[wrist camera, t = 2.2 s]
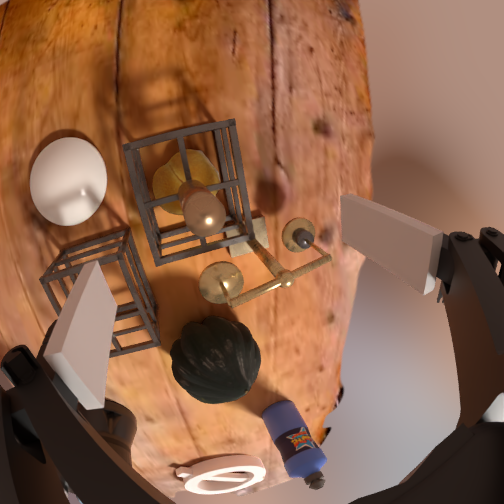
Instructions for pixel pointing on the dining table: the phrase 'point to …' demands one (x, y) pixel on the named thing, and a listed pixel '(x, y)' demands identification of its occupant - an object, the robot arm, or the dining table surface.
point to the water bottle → (295, 443)
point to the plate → (68, 181)
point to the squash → (215, 360)
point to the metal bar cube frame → (119, 255)
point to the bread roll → (182, 177)
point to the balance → (231, 279)
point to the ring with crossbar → (222, 474)
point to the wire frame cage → (194, 196)
